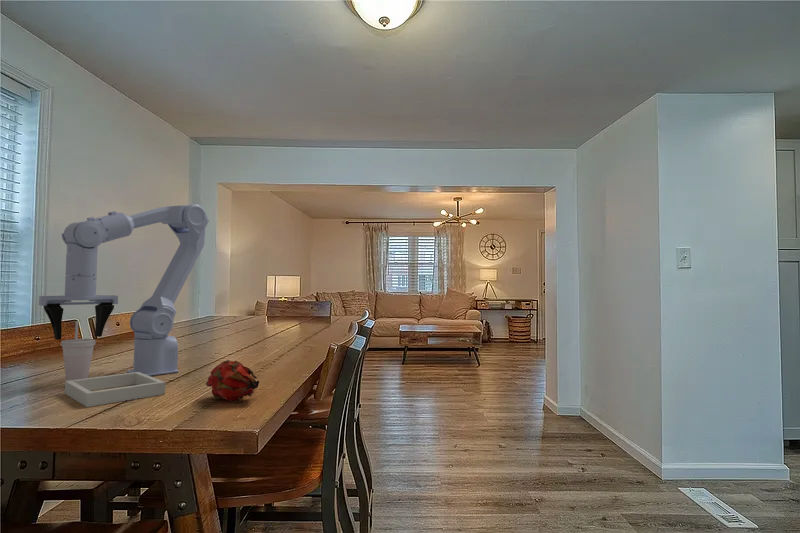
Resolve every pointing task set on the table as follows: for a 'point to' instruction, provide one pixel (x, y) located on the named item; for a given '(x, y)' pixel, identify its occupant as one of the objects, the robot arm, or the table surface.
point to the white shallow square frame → (142, 388)
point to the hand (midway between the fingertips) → (78, 337)
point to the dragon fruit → (232, 381)
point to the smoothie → (77, 356)
